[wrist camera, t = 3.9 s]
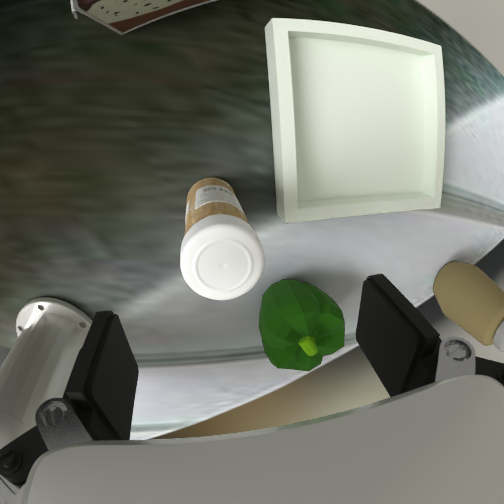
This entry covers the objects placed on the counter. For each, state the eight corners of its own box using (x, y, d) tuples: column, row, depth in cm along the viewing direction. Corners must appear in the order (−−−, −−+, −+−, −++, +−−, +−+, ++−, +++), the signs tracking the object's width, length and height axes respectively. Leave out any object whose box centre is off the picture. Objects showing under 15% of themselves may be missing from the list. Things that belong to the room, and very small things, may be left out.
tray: (424, 200, 32) (440, 208, 29) (276, 213, 30) (284, 223, 27) (423, 48, 24) (440, 45, 22) (264, 27, 22) (272, 18, 20)
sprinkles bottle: (178, 211, 28) (165, 284, 16) (201, 167, 27) (203, 209, 15) (221, 231, 30) (240, 314, 18) (245, 190, 28) (282, 248, 16)
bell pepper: (324, 318, 36) (358, 375, 27) (258, 336, 36) (277, 400, 27) (320, 257, 33) (363, 309, 24) (245, 275, 32) (264, 337, 23)
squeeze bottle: (432, 312, 40) (505, 391, 24) (420, 277, 37) (510, 362, 20) (468, 280, 39) (546, 347, 23) (460, 242, 36) (554, 309, 20)
